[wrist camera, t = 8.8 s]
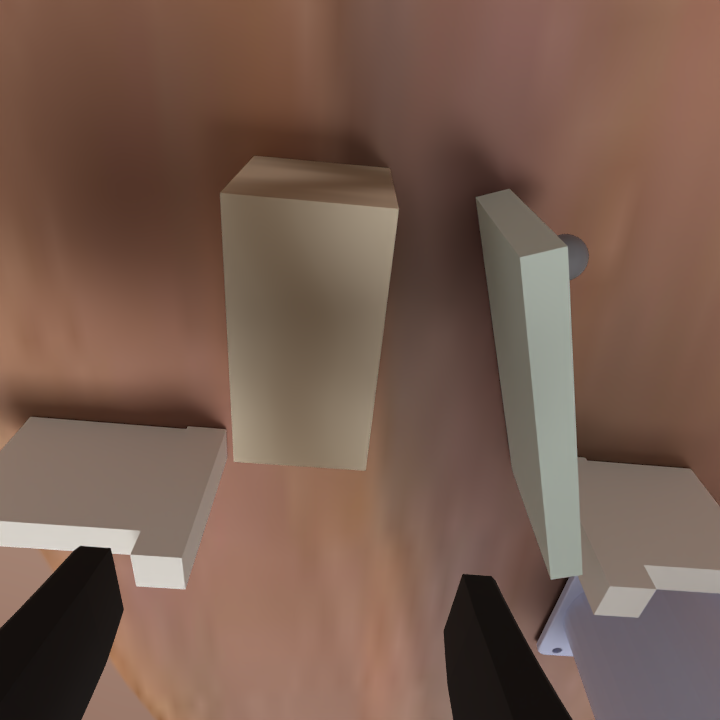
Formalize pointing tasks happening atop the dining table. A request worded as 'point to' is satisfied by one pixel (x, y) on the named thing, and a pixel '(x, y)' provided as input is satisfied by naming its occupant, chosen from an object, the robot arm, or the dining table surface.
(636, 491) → the wall frame
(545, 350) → the door
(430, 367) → the dining table surface
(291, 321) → the birch block
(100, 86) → the dining table surface
